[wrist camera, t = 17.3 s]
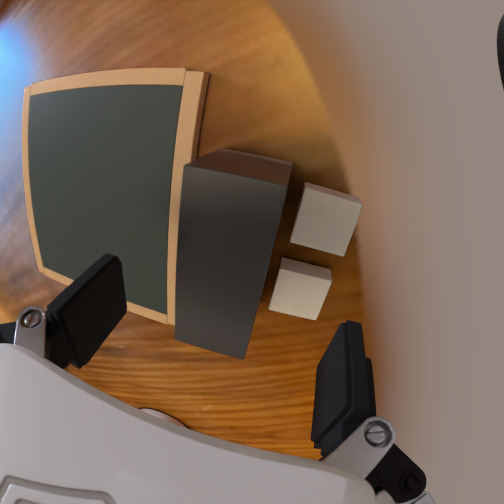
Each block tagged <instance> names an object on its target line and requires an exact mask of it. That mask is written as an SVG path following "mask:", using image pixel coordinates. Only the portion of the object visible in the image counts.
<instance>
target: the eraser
mask: <svg viewBox="0 0 504 504" xmlns="http://www.w3.org/2000/svg"><path fill="white" fill-rule="evenodd" d="M292 166H293V163H291V162H287V161H283V160H279V159H274V158H270V157H265V156H261V155H256V154H251V153H246V152H241V151H235V150H230V149H225V148H220V149H218V150H216V151H214V152H211V153H209V154H207V155H205V156H202V157H200V158H198V159H196V160H194V161H191V162H189V163H187V164H185V165H184V167H183V176H182V186H181V197H180V209H179V222H178V237H177V255H176V281H175V340H178V341H181V342H184V343H187V344H190V345H194V346H197V347H200V348H203V349H207V350H210V351H214V352H217V353H221V354H224V355H228V356H232V357H235V358H239V359H244V358H245V355H246V351H247V347H248V343H249V340H250V336H251V332H252V328H253V325H254V321H255V317H256V313H257V309H258V306H259V302H260V298H261V294H262V290H263V286H264V282H265V278H266V274H267V270H268V266H269V262H270V258H271V254H272V250H273V246H274V242H275V238H276V234H277V230H278V226H279V222H280V218H281V214H282V210H283V205H284V201H285V197H286V193H287V189H288V184H289V180H290V175H291V171H292Z"/></svg>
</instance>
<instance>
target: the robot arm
mask: <svg viewBox="0 0 504 504" xmlns="http://www.w3.org/2000/svg"><path fill="white" fill-rule="evenodd" d="M47 309H48V310H47V311H46V312H45V311H44V310H43V309H42V308H41V307H38V306H32V307H28V308H26V309H24V310H23V311H22V312H21V313H20V315H19V316H18V319H17V321H16V322H10V323H5V324H0V504H435V502H434V500H433V498H432V497H431V495H430V493H429V492H428V493H426V492H425V490H424V489H425V487H426V477H425V474H424V472H423V471H422V470H421V469H420V468H419V467H418V466H417V465H416V464H415V463H414V462H413V461H412V460H411V459H410V458H409V457H408V456H407V455H406V454H404V453H403V452H402V451H401V450H400V449H399V448H398V447H397V446H396V445H395V444H394V442H395V436H396V434H395V429H394V427H393V425H392V424H391V423H390V422H389V421H388V420H386V419H385V418H382V417H379V416H378V417H377V416H376V405H375V392H374V381H373V372H372V363H371V360H370V358H367V357H365V349H364V341H363V333H362V326H361V323H358V322H353V321H349V320H347V321H346V322H345V323H341V324H340V325H339V327H338V329H337V331H336V333H335V335H334V337H333V339H332V341H331V342H330V344H329V346H328V348H327V350H326V352H325V353H324V355H323V357H322V359H321V360H320V362H319V364H318V367H317V372H316V386H315V399H314V411H313V421H312V431H311V441H314V448H316V449H321V455H322V458H320V459H319V460H318V461H317V460H313V459H307V458H302V457H297V456H292V455H286V454H281V453H276V452H271V451H266V450H262V449H257V448H253V447H249V446H245V445H241V444H237V443H233V442H229V441H226V440H222V439H218V438H215V437H212V436H209V435H205V434H202V433H199V432H196V431H193V430H190V429H187V428H184V427H182V426H179V425H176V424H173V423H171V422H168V421H166V420H163V419H160V418H158V417H156V416H153V415H151V414H148V413H146V412H144V411H141V410H139V409H137V408H135V407H133V406H130V405H128V404H126V403H124V402H122V401H120V400H118V399H116V398H114V397H112V396H110V395H108V394H106V393H104V392H102V391H100V390H98V389H96V388H94V387H93V386H91V385H89V384H87V383H85V382H84V381H82V380H80V379H79V378H77V377H75V376H73V375H72V374H70V373H68V365H69V364H70V363H71V364H72V365H73V366H75V367H77V368H78V369H80V368H81V367H82V366H83V364H84V365H86V364H87V363H88V362H89V360H90V359H91V358H92V356H93V355H94V354H95V352H96V351H97V350H98V348H99V347H100V346H101V344H102V343H103V342H104V341H105V339H106V338H107V337H108V335H109V334H110V333H111V331H112V330H113V329H114V328H115V326H116V325H117V324H118V323H119V321H120V320H121V319H122V317H123V316H124V315H125V313H126V311H127V302H126V295H125V287H124V279H123V269H122V262H121V261H120V260H119V257H118V256H115V255H112V254H109V253H106V254H104V255H103V256H102V257H100V258H99V259H98V260H97V261H96V262H95V263H93V264H92V265H91V266H90V267H89V268H88V269H87V270H85V271H84V272H83V273H82V274H81V275H80V276H79V277H78V278H77V279H75V280H74V281H73V282H72V283H71V284H70V285H69V286H68V287H67V288H66V289H65V290H63V291H62V292H61V293H60V294H59V295H58V296H57V297H56V298H55V299H54V300H53V301H52V302H51V303H50V304H49V305H48V306H47Z"/></svg>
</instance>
